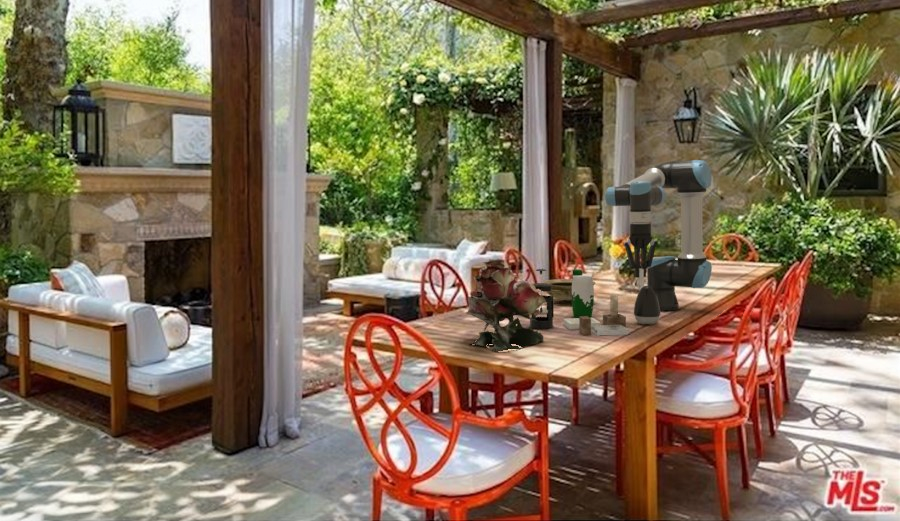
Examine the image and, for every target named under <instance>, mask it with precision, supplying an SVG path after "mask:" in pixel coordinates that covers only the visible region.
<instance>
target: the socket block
mask: <svg viewBox="0 0 900 521" xmlns="http://www.w3.org/2000/svg"><path fill="white" fill-rule="evenodd" d="M626 321H627V318H626V316H625V315H623V314H621V313H618V317H610V313H608V314H606V313H603V314H602V325H622V326H624V327H626V328H627V322H626Z"/></svg>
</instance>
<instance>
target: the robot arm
mask: <svg viewBox="0 0 900 521" xmlns="http://www.w3.org/2000/svg"><path fill="white" fill-rule="evenodd" d="M712 181H713V178H712V172H711V168H710V165H709V163H708V162H707V161H706V160H703V159H693V160H691V159H690V160H689V159H688V160H676V161H675V160H669V161H665V162H662V163H659V164H657V165H654V166H651V167H650V168H648V169H647V170H646V171H645V172H644V173H643V174H641V175H639V176H637V177H635V178H633V179H632V180H630V181H627V182H626V183H623V184H622V185H620V186H615V185H614V186H609V187H607V188H606V191H605V192H604V194H605V195H604V198H605V199H604V200H605V203H606V205H608V206H609V207H610V206H611V207H613V206H614V207H629V222H630V225H629V237H628V240H627V241H623V242H622V245H623V247H624V248H625V252H626V256H627V261H628V264H629V267H631V268H633V269H634V277H635V278H636V283H637V285H636V286H638V287H641V288H642V287H644V286H645V285H644V283H645V282H644V281H645V280H644V278H646V277H647V278H646V280H647V282H646V283H647V285H646V286H650V287H652V288H653V289H654V291H655V293H656V295H657V298H658V302H659V306H660V312H666V311H665V310H674V309H678V308H680V307H679V306H680V305H679V304H680V303H679V301H678V298H677V295H676V289H675V288H676V287H682V288H693V289H702V288H705V287H706V286H707V285H708V283H709V282H710V278H711V275H712V268H713V267H712V263H711V262H710V261H709V260H707V255H706V254H705V253H704V252H703V250H704V249H703V244H704V243H703V236H704V235H703V196H704V195H705V194H707V189H709V188H710V187H711V185H712ZM665 189H676V194H678V195H679V196H680V227H681V228H680V233H681V234H680V238H681V240H680V241H681V242H680V243H681V244H680V245H681V246H680V249H681V250H680V253H679V254H678V255H677V259H676V256H675V255H667V256H665V255H664V256H659V257H654V255H655V251H656V247H657V246H658V244H659V242H658V240H657V241H656V240H655V239H653V236H652V224H651V223H650V222H652V207H657V206H659V205H662V204H663V203H664V201H665V200H666V198H667V193H666V191H665ZM649 245H650V246H649ZM631 246H632V247H633V251H634V253H632V252H633V251H632V247H631ZM648 246H649V249H648ZM647 250H648V254H647ZM633 254H634V255H633ZM678 310H679V309H678ZM674 311H675V310H674Z"/></svg>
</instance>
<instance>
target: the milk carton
mask: <svg viewBox="0 0 900 521" xmlns="http://www.w3.org/2000/svg"><path fill="white" fill-rule="evenodd" d="M571 279H572V304H571V307H572V308H571V309H572V314H573V315H572V316H573V319H574V318H579V317H581V316H588V317H589V318H593V316H592V315H593V312H594V303H595V302H594V301H595V299H594V298H595V297H594V296H595V295H594V293H595V292H594V291H595V290H594V286H595V285H593V281H594V279H593V273H583V269H572V275H571Z"/></svg>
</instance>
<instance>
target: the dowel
mask: <svg viewBox="0 0 900 521" xmlns="http://www.w3.org/2000/svg"><path fill="white" fill-rule="evenodd" d="M609 301H610V302H609V311H610V312H609V314H610V317H618V314H619V295H617V294H610V296H609Z"/></svg>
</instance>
